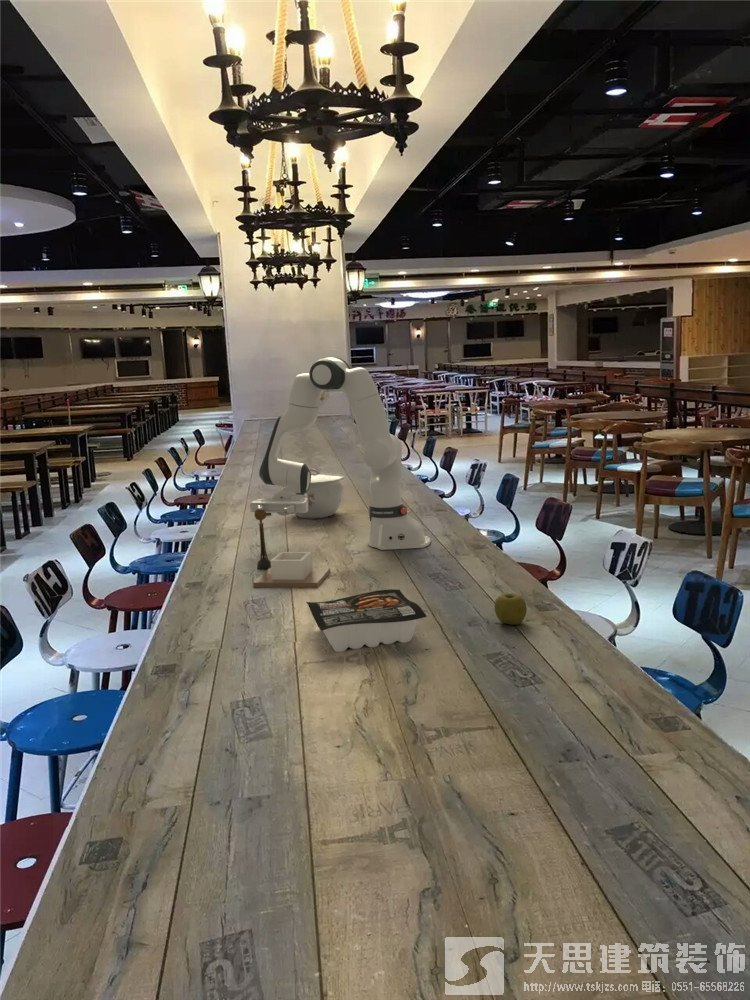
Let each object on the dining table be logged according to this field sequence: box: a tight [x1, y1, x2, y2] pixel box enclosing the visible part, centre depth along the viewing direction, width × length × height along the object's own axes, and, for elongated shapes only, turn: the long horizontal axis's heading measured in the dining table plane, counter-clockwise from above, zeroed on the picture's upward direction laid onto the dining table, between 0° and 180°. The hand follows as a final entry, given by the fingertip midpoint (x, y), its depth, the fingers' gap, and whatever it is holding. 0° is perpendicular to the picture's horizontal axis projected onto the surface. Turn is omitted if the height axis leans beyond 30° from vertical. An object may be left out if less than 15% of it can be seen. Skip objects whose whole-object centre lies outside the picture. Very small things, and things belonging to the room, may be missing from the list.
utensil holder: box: [252, 551, 331, 589], centre depth 239 cm, size 20×16×8 cm
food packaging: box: [305, 588, 427, 653], centre depth 189 cm, size 25×8×23 cm
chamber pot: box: [294, 467, 346, 520], centre depth 333 cm, size 28×28×21 cm
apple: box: [494, 593, 528, 626], centre depth 192 cm, size 8×8×7 cm
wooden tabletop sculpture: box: [253, 509, 272, 571], centre depth 253 cm, size 6×5×20 cm
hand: (272, 510), depth 264 cm, fingers open, 8 cm apart
